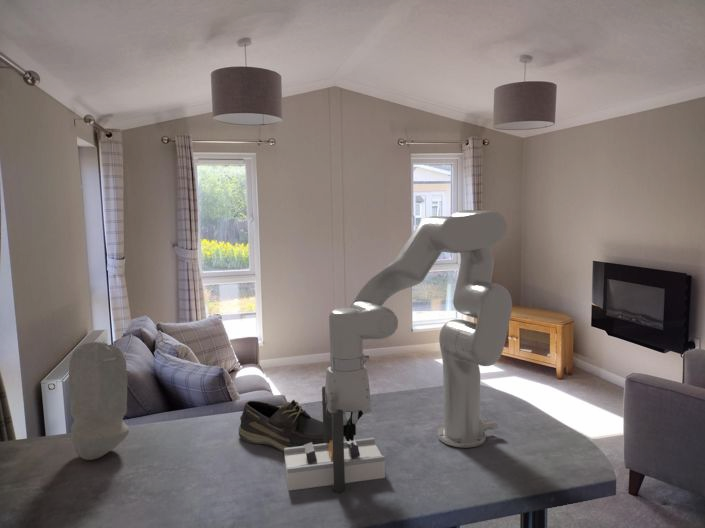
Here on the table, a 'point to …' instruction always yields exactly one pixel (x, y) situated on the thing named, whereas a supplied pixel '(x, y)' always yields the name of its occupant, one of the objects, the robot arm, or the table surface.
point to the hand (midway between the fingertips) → (349, 438)
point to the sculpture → (97, 398)
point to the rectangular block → (331, 448)
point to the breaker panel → (322, 469)
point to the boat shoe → (279, 425)
